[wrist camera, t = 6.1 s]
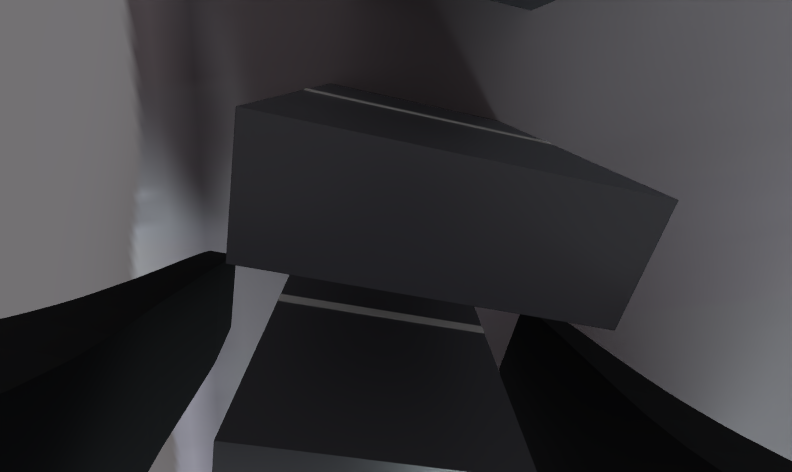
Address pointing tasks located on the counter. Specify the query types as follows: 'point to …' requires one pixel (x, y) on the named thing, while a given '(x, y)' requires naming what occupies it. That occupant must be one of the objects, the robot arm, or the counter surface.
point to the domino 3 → (525, 3)
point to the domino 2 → (370, 389)
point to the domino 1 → (435, 207)
